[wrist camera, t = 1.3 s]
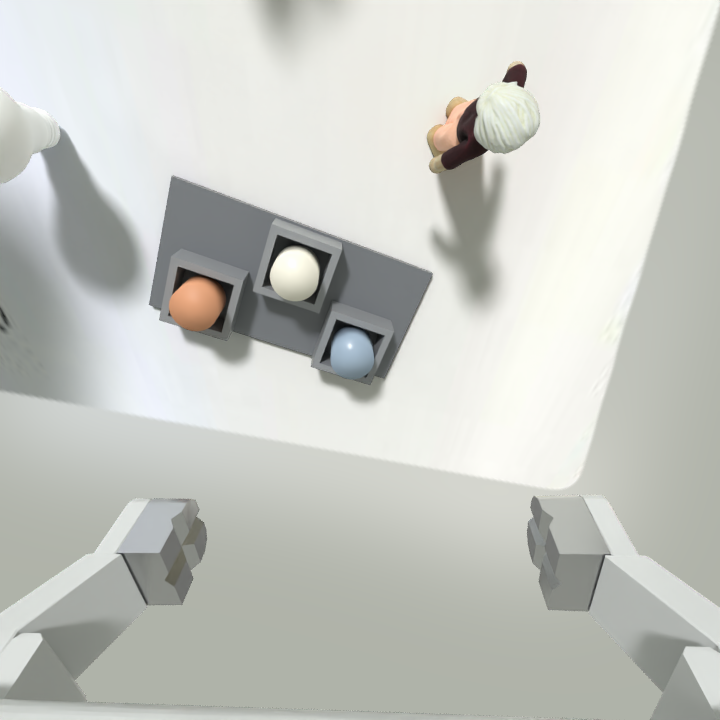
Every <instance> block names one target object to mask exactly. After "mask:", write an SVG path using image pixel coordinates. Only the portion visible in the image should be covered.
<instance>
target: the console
mask: <svg viewBox="0 0 720 720" xmlns="http://www.w3.org/2000/svg"><path fill="white" fill-rule="evenodd" d="M291 245H301V246H305V247H307V248H309V249H310V250H312V251H313V252H314V253H315V255H316V256H317V258H318V260H319V263H320V273H319V280H318V286H317V288H316V290H315V292H314V293H313V294H312V295H311V296H310V297H309V298H307V299H305V300H302V301H289V300H286V299H284V298H282V297H281V296H279V295H278V294H277V293H276V292H275V291H274V289H273V287H272V285H271V282H270V272H271V268H272V266H273V264H274V262H275V260H276V258H277V256H278V254H279V253H280V252H281V251H282V250H283V249H284V248H286V247H288V246H291ZM432 274H433V273H432V272H430V271H427V270H425V269H422V268H419V267H417V266H414V265H411V264H409V263H406V262H403V261H401V260H398V259H395V258H393V257H390V256H387V255H385V254H382V253H379V252H377V251H374V250H371V249H368V248H366V247H363V246H360V245H358V244H355V243H352V242H350V241H347V240H344V239H342V238H339V237H336V236H334V235H331V234H328V233H326V232H323V231H320V230H318V229H315V228H312V227H310V226H307V225H304V224H302V223H299V222H296V221H294V220H291V219H288V218H286V217H283V216H280V215H278V214H275V213H272V212H270V211H267V210H264V209H262V208H259V207H256V206H254V205H251V204H248V203H246V202H243V201H240V200H238V199H235V198H232V197H230V196H227V195H224V194H222V193H219V192H216V191H214V190H211V189H208V188H206V187H203V186H200V185H198V184H195V183H192V182H189V181H187V180H184V179H181V178H179V177H176V176H172V177H171V182H170V188H169V194H168V200H167V205H166V211H165V217H164V222H163V228H162V234H161V239H160V245H159V251H158V257H157V262H156V268H155V274H154V279H153V285H152V291H151V297H150V302H149V305H151V306H154V307H157V308H161V313H160V318H159V320H160V321H164V322H167V323H170V324H173V325H177V326H180V325H178V324H177V323H176V322H175V320H174V319H173V318H172V316H171V314H170V311H169V301H170V298H171V296H172V295H173V294H174V293H175V292H176V291H177V290H178V289H179V288H180V287H181V286H182V285H183V284H184V283H185V282H186V281H187V280H188V279H189V278H191V277H193V276H198V275H203V276H208V277H211V278H213V279H214V280H216V281H217V282H218V283H219V284H220V285H221V286H222V287H223V289H224V291H225V294H226V304H225V307H224V308H223V310H222V312H221V313H220V315H219V316H218V318H217V319H216V321H215V322H214V324H213V325H212V326H211V327H210V328H208V329H206V330H203V331H196V332H199V333H202V334H206V335H209V336H212V337H215V338H219V339H222V340H225V341H227V340H228V338H229V337H230V335H231V333H232V331H234V332H237V333H240V334H244V335H247V336H250V337H253V338H256V339H260V340H263V341H266V342H269V343H272V344H275V345H279V346H282V347H285V348H288V349H291V350H295V351H298V352H301V353H304V354H307V355H311V356H312V362H311V367H313V368H316V369H319V370H323V371H326V372H329V373H332V374H336V375H338V374H337V373H336V372H335V371H334V370H333V368H332V366H331V341H332V338H333V336H334V334H335V333H336V332H337V331H338V330H340V329H341V328H343V327H346V326H357V327H360V328H362V329H364V330H365V331H366V332H367V333H368V334H369V335H370V337H371V341H372V347H373V353H374V365H373V367H372V369H371V370H370V372H369V373H368V374H366V375H365V376H363V377H361V378H358V379H352V380H355V381H358V382H362V383H365V384H368V385H370V384H371V382H372V380H373V378H374V376H378V377H381V378H385V376H386V374H387V371H388V369H389V367H390V365H391V363H392V361H393V358H394V356H395V354H396V352H397V350H398V348H399V345H400V343H401V341H402V339H403V337H404V335H405V333H406V330H407V328H408V326H409V324H410V322H411V320H412V317H413V315H414V313H415V311H416V309H417V307H418V304H419V302H420V300H421V298H422V296H423V294H424V291H425V289H426V287H427V285H428V283H429V281H430V279H431V276H432ZM180 327H181V326H180Z"/></svg>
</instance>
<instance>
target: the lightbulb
mask: <svg viewBox="0 0 720 720" xmlns="http://www.w3.org/2000/svg"><path fill="white" fill-rule="evenodd" d="M59 139H60V129H59V126H58V124H57V122H56V120H55V119H54V118H53V117H52V116H51V115H50V114H49V113H48V112H46V111H44V110H41V109H37V108H33V107H29V106H28V105H26V104H24V103H21V102H16V101H15V100H14V99H13V98H12V97H11V96H10V95H9V94H8V93H7V92H6V91H5V90H3V89H2V88H1V87H0V184H2V183H6V182H8V181H10V180H11V179H13V178H15V177H16V176H18V175H19V174H20V173H21V172H22V171H23V170H24V169H25V168H26V166H27V165H28V163H29V161H30V158H31V156H32V154H35V153H38V152H40V151H42V150H43V149H47V148H51V147H53V146H55V145H56V144H57V143H58V141H59Z"/></svg>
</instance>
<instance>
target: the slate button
mask: <svg viewBox="0 0 720 720" xmlns="http://www.w3.org/2000/svg"><path fill="white" fill-rule="evenodd" d="M373 365H374V353H373V347H372V341H371V337H370V335H369V334H368V333H367V332H366V331H365V330H364V329H362V328H360V327H357V326H346V327H343V328H341V329H340V330H338V331H337V332H336V333H335V334H334V336H333V338H332V341H331V366H332V368H333V370H334V371H335V372H336V373H337V374H338V375H339V376H341V377H343V378H346V379H358V378H361V377H363V376H365V375H366V374H368V373H369V372H370V370H371V369H372V367H373Z"/></svg>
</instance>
